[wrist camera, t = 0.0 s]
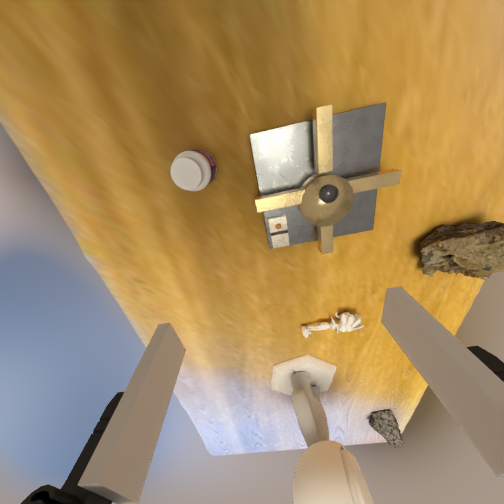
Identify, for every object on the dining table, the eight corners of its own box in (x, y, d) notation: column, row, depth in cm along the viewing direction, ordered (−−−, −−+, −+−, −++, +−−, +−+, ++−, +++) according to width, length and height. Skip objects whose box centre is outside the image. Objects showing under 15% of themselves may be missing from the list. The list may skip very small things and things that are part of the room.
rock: (397, 414, 82) (416, 432, 72) (384, 435, 80) (402, 456, 71) (370, 393, 83) (385, 407, 73) (357, 413, 82) (371, 430, 72)
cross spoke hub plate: (249, 135, 31) (249, 134, 28) (378, 104, 30) (392, 100, 27) (269, 244, 41) (270, 252, 38) (367, 225, 39) (377, 232, 36)
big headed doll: (344, 380, 66) (427, 585, 35) (282, 398, 71) (307, 590, 40) (326, 347, 57) (414, 580, 27) (257, 370, 62) (264, 587, 32)
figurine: (299, 333, 46) (366, 320, 42) (294, 313, 50) (357, 298, 45) (311, 345, 55) (368, 335, 50) (306, 327, 58) (360, 315, 54)
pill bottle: (222, 158, 33) (212, 163, 24) (212, 188, 35) (200, 202, 27) (191, 143, 32) (169, 142, 23) (182, 175, 34) (160, 185, 26)
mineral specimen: (400, 275, 45) (436, 306, 36) (412, 223, 39) (459, 245, 30) (466, 265, 44) (520, 295, 35) (490, 210, 38) (561, 230, 29)
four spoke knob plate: (241, 128, 29) (240, 125, 25) (398, 90, 27) (424, 80, 23) (266, 255, 39) (268, 268, 35) (380, 235, 37) (396, 245, 33)
